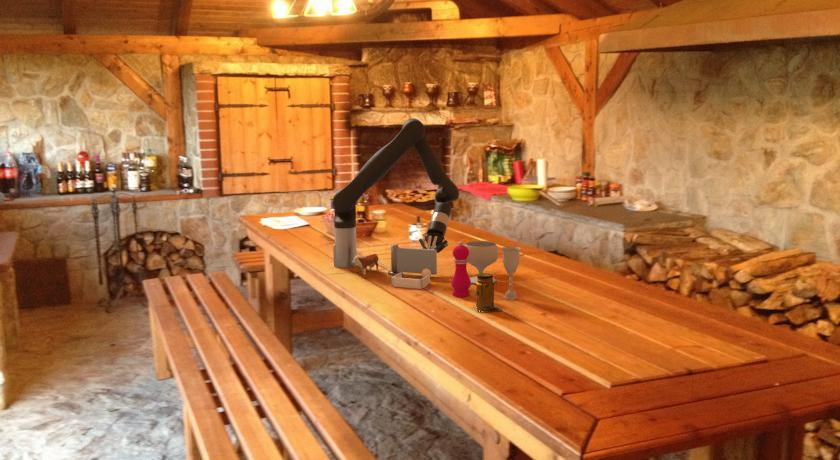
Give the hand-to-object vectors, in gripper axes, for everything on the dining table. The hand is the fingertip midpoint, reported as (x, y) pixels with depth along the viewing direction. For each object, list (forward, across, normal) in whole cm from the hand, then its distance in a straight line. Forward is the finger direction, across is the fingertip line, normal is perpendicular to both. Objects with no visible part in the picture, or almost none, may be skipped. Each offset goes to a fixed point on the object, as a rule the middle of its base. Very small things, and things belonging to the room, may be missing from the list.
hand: (428, 259), depth 290 cm
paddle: (+5, -6, +2) cm, 8 cm away
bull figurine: (+8, -26, +2) cm, 27 cm away
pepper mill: (+22, +22, -13) cm, 34 cm away
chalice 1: (+7, +23, +2) cm, 24 cm away
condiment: (+32, +36, -23) cm, 54 cm away
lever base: (+6, -14, +3) cm, 15 cm away
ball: (+8, +1, +1) cm, 8 cm away
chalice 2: (+21, +40, -12) cm, 47 cm away
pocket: (+16, -1, -7) cm, 18 cm away
